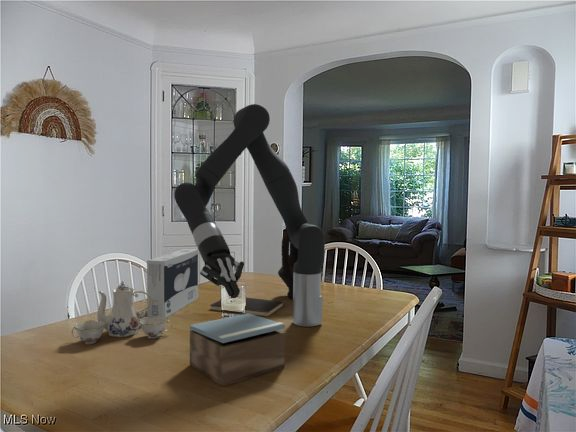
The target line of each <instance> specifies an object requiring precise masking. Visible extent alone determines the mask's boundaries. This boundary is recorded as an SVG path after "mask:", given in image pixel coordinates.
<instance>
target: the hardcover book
mask: <svg viewBox="0 0 576 432" xmlns="http://www.w3.org/2000/svg"><path fill="white" fill-rule="evenodd" d="M245 298H246V306H245V313H244V314H248V313H249V314H252V315H256V316H261V317H262V316H264V317H268V316H270V315H271V314H273V313H275V312H276V311H277V310H279V309H280V308H281V307H283V306H284V304H285V303H284V301H283V300H273V299H264V298H262V299H261V298H254V297H245ZM221 300H222V299H219V300H217V301H216V302H214V303H211V304H210V305H209V306H210V309H211V310H212V311H220V312H222V311H221Z"/></svg>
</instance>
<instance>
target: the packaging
mask: <svg viewBox="0 0 576 432" xmlns="http://www.w3.org/2000/svg"><path fill="white" fill-rule="evenodd" d="M146 287H147V288H146V293H148V294H149V296H150V298H151V303H150V306H149V307H148V308H147V309H146V310H147V311H146V313H147V315H146V317H149V318H151V317H153V316H161V317H163V318H168V317H170V316H172V315H174V314H175V313H176V312H179V311H180V310H181V309H184V308H185V307H186V306H189V305H190V304H191V303H194V301H196V300H198V299H199V250H198V248H197V249H196V248H193V249H191V248H183V249H180V250H176V251H173V252H169V253H168V254H163V255H161V256H157V257H155V258H150V259H148V260H146ZM146 296H147V295H146ZM148 303H149V298H148V296H147V297H146V306H147V305H148Z"/></svg>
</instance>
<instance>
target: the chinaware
mask: <svg viewBox="0 0 576 432" xmlns="http://www.w3.org/2000/svg"><path fill="white" fill-rule="evenodd" d="M134 290H135V288H133V287H129V286H128V285H127V284H126V282H125V280H122V281H121V282H120V284H119V285H117V287H116V288H114V289H111V292H112V296H113V304H112V308H111V312H110V314H107V313H106V310H107V309H106V306H107V295H106V293H105V292H104V291H102V290H100V291H98V294H99V295H100V299H101V300H100V302H99V305H98V309H97V315H96V316H97V317H96V318H97V321H96V320H92V319H91V320H86V321H84V322H83V323H82V322H80V323H79V322H78V323H75V324H74V327H72V329H71V334H72V335H71V336H72V337H74V338H76V339H77V338H79V339H80V341H83V344H86V345H92V344H93V345H94V344H95V343H96V342H98V339H99V338H100V337H101V336H102V335H103V332H104V329H105V330H106V331H107V332H108V336H109V337H114V338H124V337H125V338H126V337H131V336H133V335H136V334H138V332H139V331H138V329H139V328H141V331H142V332H143V334H144V335H146V337H147V338H148V339H156V338H160V336H159V335H164V332H169V331H171V330H172V328H173V323H172V322H171V320H169V318H168V317H167V318H163V317H161V316H153V317H151V318H149V317H147V316H145V315H146V310H147V308H148V307H149V306H150V303H151V298H150V296H149V294H148V293H147V291H144V290H137V291H136V290H135V291H134ZM139 293H141V294H144V295H146V296H148V298H149V303H148V305H147V304H146V306H145V308H142V309H139V310H137V311H136V308H135V305H134V302H133V297H135V298H138V297H139ZM168 322H169V323H170V326H171V327H169V329H165V327H166V324H168ZM74 330H75V331H76V334H77V336H76V335H75V334H74Z"/></svg>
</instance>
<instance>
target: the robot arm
mask: <svg viewBox="0 0 576 432" xmlns="http://www.w3.org/2000/svg"><path fill="white" fill-rule="evenodd" d="M270 117H271V116H270V114H269V111H268V110H267V108H266V107H265V106H264V105H262V104H260V103H257V104H256V103H253V104H249V105H245V106H244V107H242V108H240V109H239V110H237V111H236V113H235V114H234V116H233V126H234V129H233V131H232V132H231V133H229V135H228V136H227V138H226V139H225V140H224V141H223V142H221V144H219V145H218V146H217V147H216V148H215V149H214V150H213V151H212V152H211V153H210V154H209V155H208V156H207V157H206V159H205V160H204V161H203V163H202V164H201V165H200V166H199V167H198V168H197V169H196V172H195V175H194V176H195V177H194V178H195V180H196V181H195V184H194V183H191V182H188V181H187V182H183V183H179V184H178V185H177V186H176V188H175V190H174V195H173V196H174V201H175V203H176V205H177V207H178V209H179V210H180V211H181V213H182V215H183V216H184V218H185V220H186V222H187V226H188V228H189V230H190V232H191V234H192V237H193V240H194V243H195V246H196V247H197V249H198V253H199V255H200V256H201V259H202V261H203V262H204V266H202V269H201V270H200V272H199V274H200V275H201V276H203V277H204V278H205V279H207V280H208V281H209V282H211V283H212V284H214V285H215V286H216V287H217V286H222V287H223V288H224V289H225V291H226V293H227V296H231V298H236V297H239V295H240V292H241V290H240V287H239V285H238V282H239V281H240V280H239V279H240V278H241V277H242V272H243V270H244V266H245V262H244V261H240V262H238V261H236V259H235V258H234V257H233V255H232V254H231V250H230V248H229V246H228V245H229V244H228V243H227V242H226V240H225V237H224V236H223V233H222V231H221V229H220V228H219V227H218V225H217V223H216V222H215V220H214V218H213V215H212V214H211V213H210V211H209V210H208V209H207V205H208V204H209V202H210V199H211V198H212V195H213V193H214V191H215V188H216V186H217V185H218V184H219V182H220V181H221V180H222V178H224V176H225V175H226V174H227V172H228V171H229V169H230V168H231V167H232V166H233V165H234V163H235V161H237V159H238V158H239V156H240V155H241V154H243V152H244V151H245V150H246V149H247V151H248V152H249V154H250V156H251V158H252V160H253V163H254V164H255V166H256V168H257V171H258V173H259V175H260V177H261V179H262V182H263V183H264V186H265V188H266V190H267V191H268V195H270V197H271V199H272V201H273V203H274V205H275V207H276V209H277V211H278V212H279V214H280V216H281V218H282V220H283V223H284V225H285V226H284V227H285V228H287V231H288V234H289V237H290V239H291V242H292V244H293V245H294V246H295V247H296V248H297V249H299V251H298V260H297V262H296V263H295V264H294V274H293V298H292V323H293V324H294V326H299V327H315V326H320V325H322V324H323V295H322V293H321V292H322V290H321V289H322V277H321V271H322V268H323V265H324V261H325V247H326V245H325V243H326V241H325V239H326V238H325V233H324V231H323V229H322V228H321V227H320V226H318V225H315V224H310V222H309V221H308V220H307V218H306V216H305V213H304V212H303V210H302V207H301V205H300V198H299V192H298V191H299V190H298V186H297V183H296V181H295V178H294V176H293V174H292V172H291V170H290V168H289V166H288V164H286V162H285V161H284V160H283V159H282V158H281V156H280V155H278V153H276V151H275V150H274V149H273V148H272V147H271V145H270V144H269V142H268V140H267V138H266V136H265V134H264V132H265V131H266V130H267V129H268V127H269V124H270Z"/></svg>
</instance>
